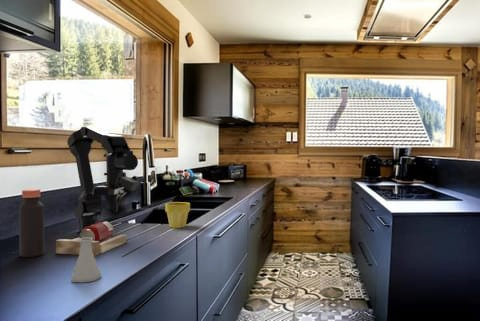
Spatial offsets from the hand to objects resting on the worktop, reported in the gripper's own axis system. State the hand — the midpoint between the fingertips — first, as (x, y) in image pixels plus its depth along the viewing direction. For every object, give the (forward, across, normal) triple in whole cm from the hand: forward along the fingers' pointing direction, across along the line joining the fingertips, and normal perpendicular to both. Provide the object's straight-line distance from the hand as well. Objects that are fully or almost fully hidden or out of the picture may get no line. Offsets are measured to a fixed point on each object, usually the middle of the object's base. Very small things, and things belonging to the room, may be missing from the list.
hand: (115, 212), depth 139 cm
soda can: (+6, -3, +2) cm, 7 cm away
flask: (+10, -41, -17) cm, 46 cm away
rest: (+10, -14, 0) cm, 17 cm away
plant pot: (+10, +26, -14) cm, 31 cm away
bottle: (+10, -26, +13) cm, 30 cm away
